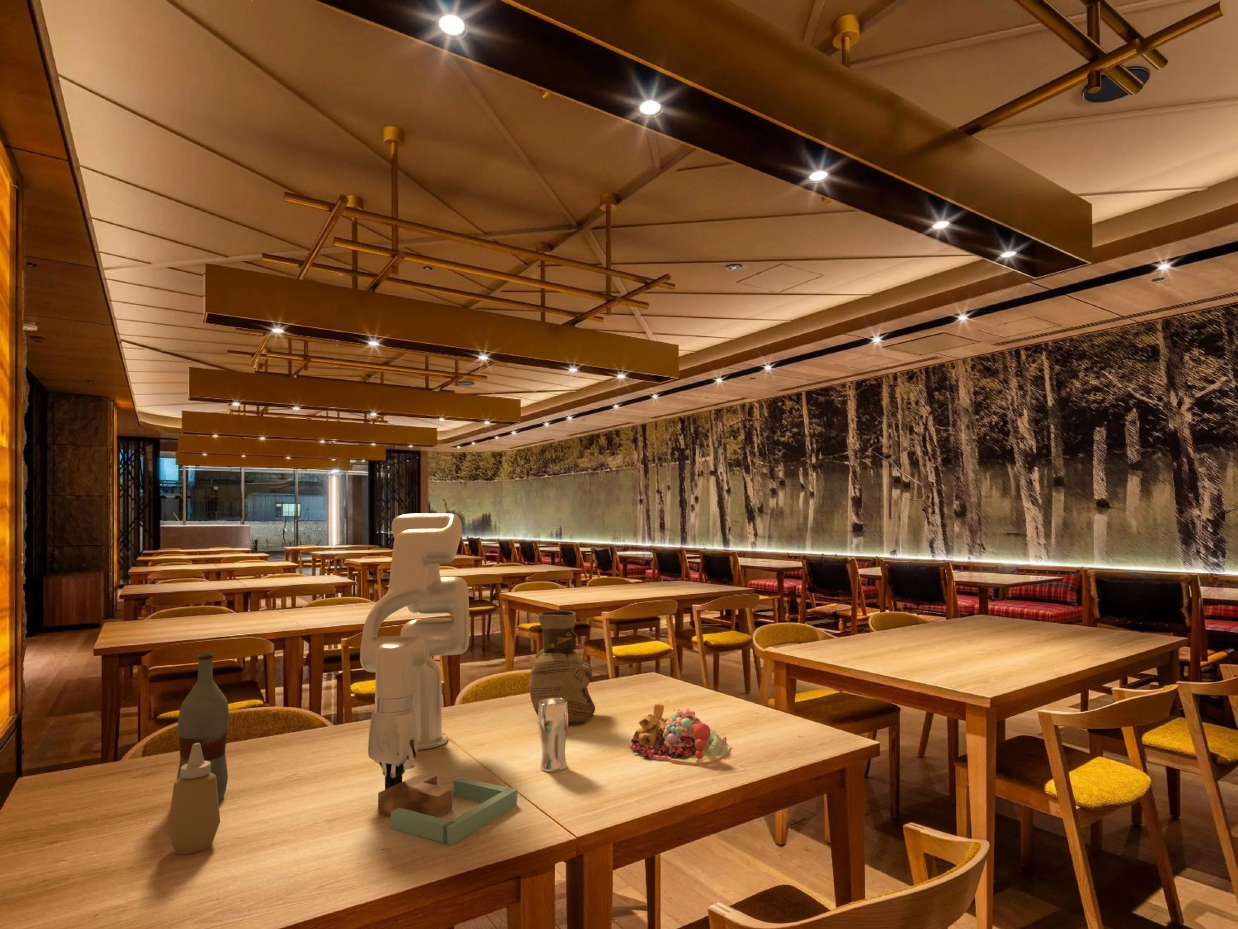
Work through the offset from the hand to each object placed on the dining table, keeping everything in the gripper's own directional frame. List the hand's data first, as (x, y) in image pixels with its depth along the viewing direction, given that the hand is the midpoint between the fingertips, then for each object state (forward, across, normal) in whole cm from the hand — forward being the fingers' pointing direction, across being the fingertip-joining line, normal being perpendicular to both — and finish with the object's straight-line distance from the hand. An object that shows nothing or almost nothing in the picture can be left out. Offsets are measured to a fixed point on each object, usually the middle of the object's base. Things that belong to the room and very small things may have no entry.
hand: (393, 794), depth 142 cm
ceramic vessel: (+1, -1, +64) cm, 64 cm away
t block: (+1, +8, 0) cm, 8 cm away
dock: (+1, +17, 0) cm, 17 cm away
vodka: (+1, -36, -18) cm, 41 cm away
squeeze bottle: (+1, -16, -31) cm, 35 cm away
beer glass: (+1, +19, +30) cm, 36 cm away
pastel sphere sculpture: (+2, +39, +56) cm, 69 cm away
